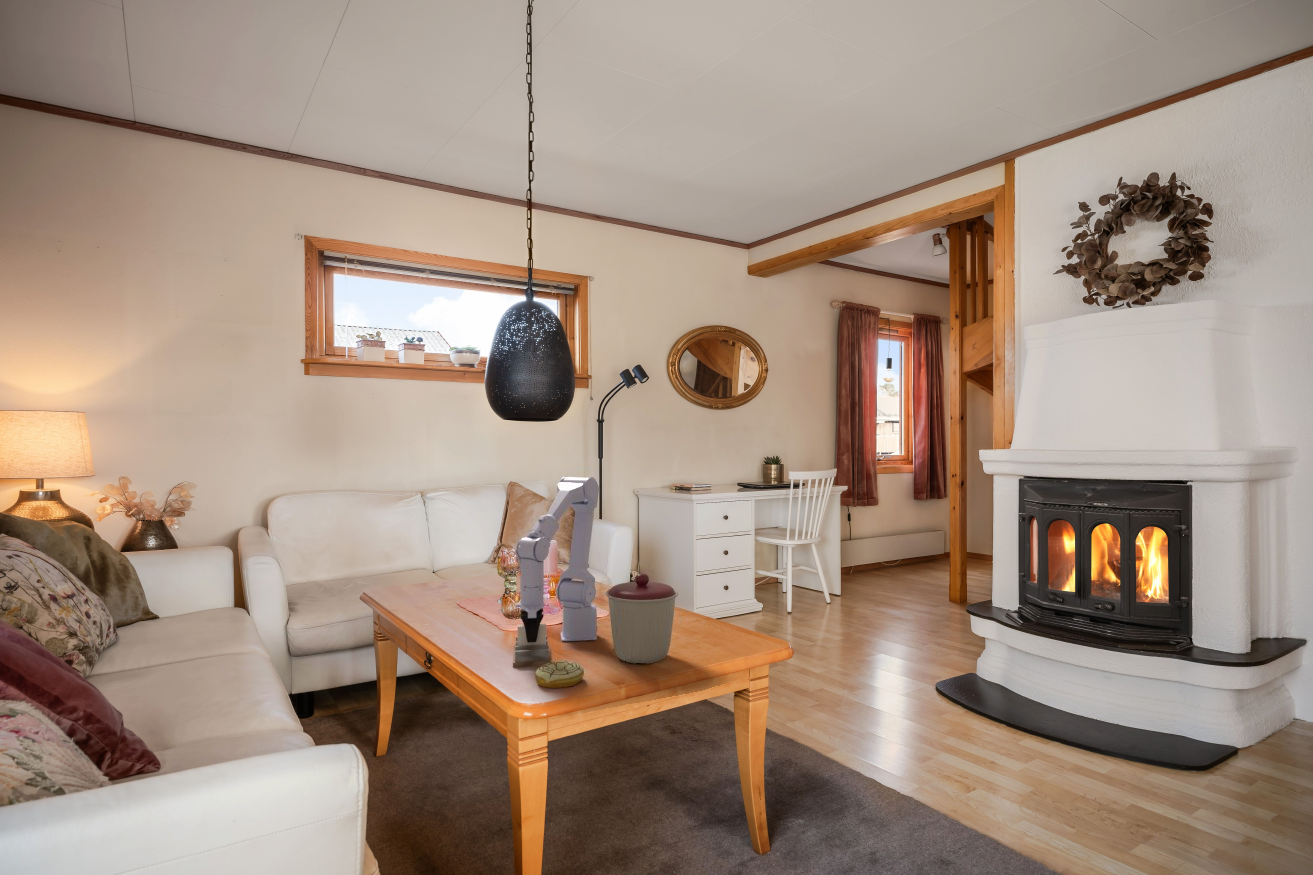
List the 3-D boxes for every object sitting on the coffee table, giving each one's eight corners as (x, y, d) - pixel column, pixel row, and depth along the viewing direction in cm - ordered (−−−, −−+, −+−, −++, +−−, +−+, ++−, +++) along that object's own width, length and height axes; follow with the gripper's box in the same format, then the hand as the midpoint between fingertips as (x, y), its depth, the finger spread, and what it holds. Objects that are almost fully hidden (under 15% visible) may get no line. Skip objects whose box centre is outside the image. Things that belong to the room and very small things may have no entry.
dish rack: (549, 648, 186) (549, 634, 186) (550, 664, 173) (550, 650, 173) (513, 649, 185) (513, 636, 185) (512, 666, 171) (512, 652, 171)
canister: (692, 658, 178) (693, 574, 178) (637, 674, 166) (637, 584, 166) (645, 643, 191) (645, 564, 191) (590, 656, 179) (591, 572, 179)
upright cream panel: (545, 651, 180) (545, 623, 180) (546, 653, 178) (546, 625, 178) (517, 652, 179) (517, 624, 179) (517, 654, 177) (517, 626, 177)
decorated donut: (528, 679, 163) (528, 663, 163) (571, 671, 169) (571, 655, 169) (546, 693, 154) (546, 675, 154) (591, 684, 160) (591, 667, 160)
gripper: (516, 580, 185) (515, 632, 185) (515, 592, 171) (515, 649, 171) (543, 579, 186) (543, 631, 186) (545, 591, 172) (544, 647, 172)
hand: (531, 639), depth 179 cm, fingers open, 3 cm apart
